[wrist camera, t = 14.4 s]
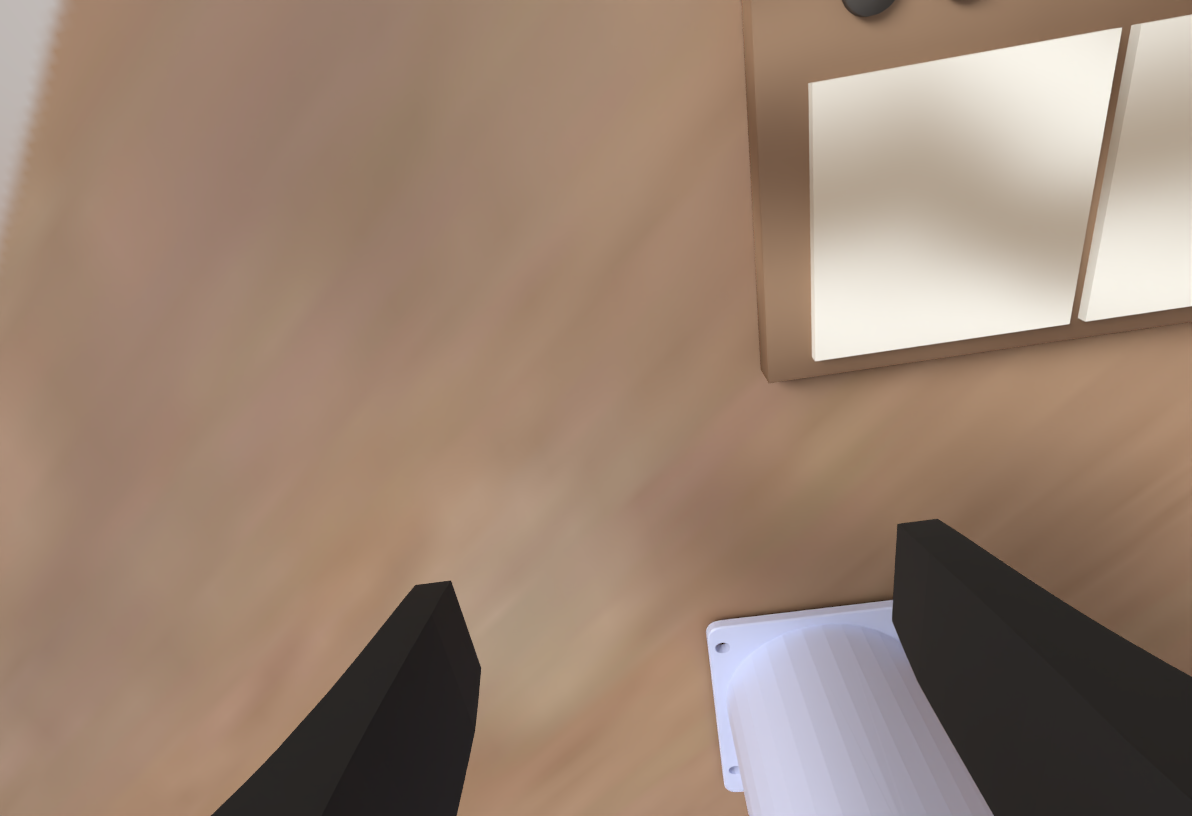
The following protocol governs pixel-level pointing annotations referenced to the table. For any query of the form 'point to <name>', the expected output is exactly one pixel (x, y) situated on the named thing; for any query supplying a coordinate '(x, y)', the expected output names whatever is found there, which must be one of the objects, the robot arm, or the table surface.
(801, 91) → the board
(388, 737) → the robot arm
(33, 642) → the table surface
